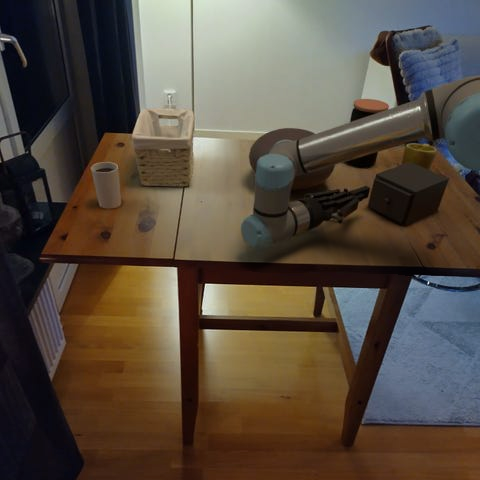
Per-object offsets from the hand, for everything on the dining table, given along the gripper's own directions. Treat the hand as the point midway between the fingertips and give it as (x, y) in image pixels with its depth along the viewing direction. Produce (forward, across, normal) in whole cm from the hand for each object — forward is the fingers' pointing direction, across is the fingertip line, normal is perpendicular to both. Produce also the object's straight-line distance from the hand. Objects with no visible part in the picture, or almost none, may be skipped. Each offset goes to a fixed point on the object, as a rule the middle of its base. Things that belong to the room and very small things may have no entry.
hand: (366, 191), depth 119 cm
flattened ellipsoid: (-3, -26, -7) cm, 27 cm away
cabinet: (+13, +4, -7) cm, 15 cm away
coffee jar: (+28, -25, -7) cm, 38 cm away
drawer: (+10, +4, -6) cm, 13 cm away
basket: (-29, -52, -7) cm, 60 cm away
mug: (+38, -10, -7) cm, 40 cm away
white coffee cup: (-52, -42, -7) cm, 68 cm away
